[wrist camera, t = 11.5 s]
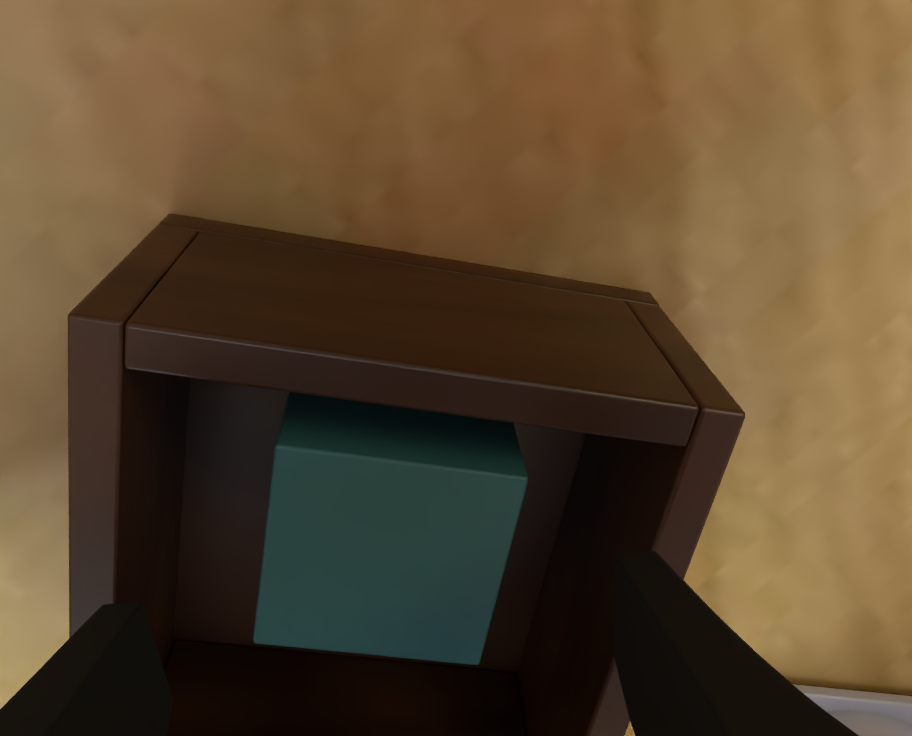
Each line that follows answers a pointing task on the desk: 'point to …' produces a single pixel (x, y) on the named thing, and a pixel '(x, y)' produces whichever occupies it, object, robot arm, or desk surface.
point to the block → (386, 529)
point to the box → (393, 384)
